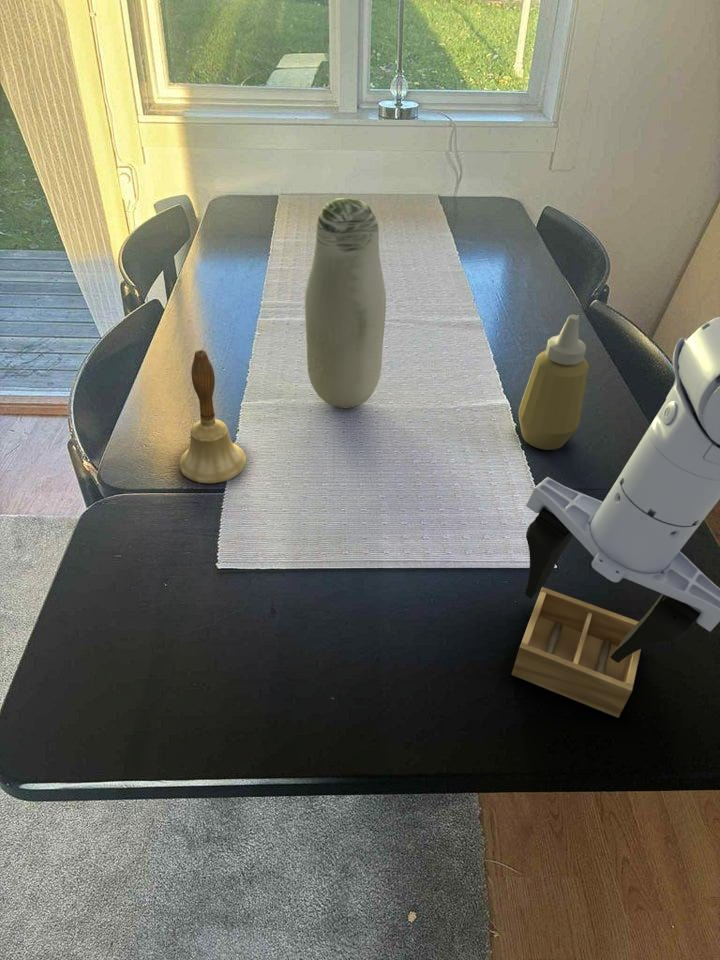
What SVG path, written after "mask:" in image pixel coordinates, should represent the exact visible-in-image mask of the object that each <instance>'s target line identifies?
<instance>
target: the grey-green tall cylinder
mask: <svg viewBox="0 0 720 960" xmlns="http://www.w3.org/2000/svg"><path fill="white" fill-rule="evenodd" d="M378 222H379V221H378V219H377V216H376V214H375V212H374V210H373V209H372V208H371V206H370V205H368V204H367V203H366V202H364V201H363V200H362V201H361V200H359V199H357V198H353V197H338V198H334V199H331V200H329V201H328V202H327V203H326V204H325V205H323V208H322V209H321V211H320V213H319V215H318V217H317V221H316V226H315V243H314V249H313V257H312V262H311V266H310V269H309V273H308V276H307V280H306V285H305V291H304V292H305V293H304V322H305V338H306V339H305V341H306V366H307V374H308V378H309V381H310V385H311V386H312V389H313V390H314V392H315V393H316V394H317V396H318V397H319V398H320V399H321V400H322V401H324V402H325V403H328V404H330V405H332V406H334V407H337V408H342V409H343V408H344V409H347V408H349V409H350V408H355V407H358V406H360V405H362V404H364V403H365V402H366V401H368V400H369V399H370V398H371V397H372V395H373V394H374V392H375V390H376V388H377V386H378V383H379V381H380V377H381V373H382V362H383V348H384V347H383V345H384V335H385V326H386V325H385V324H386V313H387V296H386V295H387V293H386V287H385V279H384V274H383V267H382V264H381V263H382V262H381V258H380V257H381V256H380V244H379V243H380V241H379V239H380V230H379V229H380V228H379V223H378Z"/></svg>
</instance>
